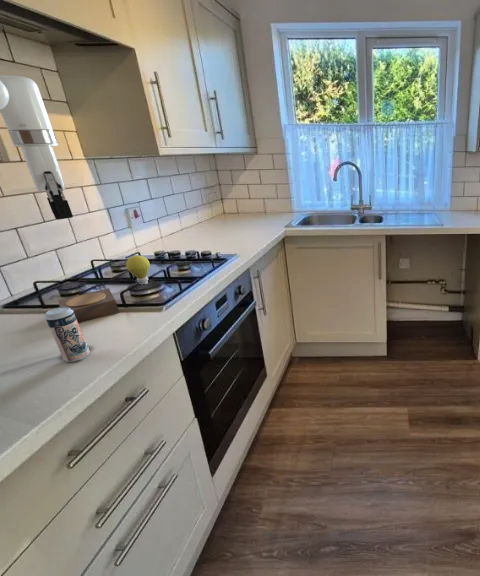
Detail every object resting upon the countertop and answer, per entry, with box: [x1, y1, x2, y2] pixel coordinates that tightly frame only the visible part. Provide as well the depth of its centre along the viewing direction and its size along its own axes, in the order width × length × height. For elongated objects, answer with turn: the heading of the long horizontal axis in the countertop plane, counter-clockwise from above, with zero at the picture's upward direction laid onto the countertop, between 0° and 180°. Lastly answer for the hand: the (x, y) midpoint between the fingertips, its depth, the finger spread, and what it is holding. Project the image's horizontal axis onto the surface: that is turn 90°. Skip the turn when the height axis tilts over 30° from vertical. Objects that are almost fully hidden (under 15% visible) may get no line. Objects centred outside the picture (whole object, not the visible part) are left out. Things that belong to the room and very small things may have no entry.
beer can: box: [44, 306, 91, 363], centre depth 80 cm, size 5×5×12 cm
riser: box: [58, 288, 120, 325], centre depth 103 cm, size 12×12×4 cm
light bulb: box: [125, 254, 151, 286], centre depth 122 cm, size 7×7×10 cm
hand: (62, 215), depth 88 cm, fingers open, 9 cm apart
